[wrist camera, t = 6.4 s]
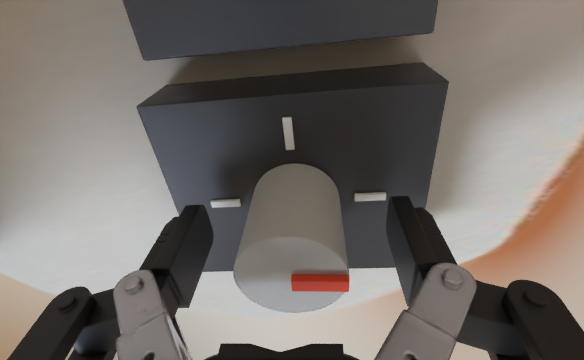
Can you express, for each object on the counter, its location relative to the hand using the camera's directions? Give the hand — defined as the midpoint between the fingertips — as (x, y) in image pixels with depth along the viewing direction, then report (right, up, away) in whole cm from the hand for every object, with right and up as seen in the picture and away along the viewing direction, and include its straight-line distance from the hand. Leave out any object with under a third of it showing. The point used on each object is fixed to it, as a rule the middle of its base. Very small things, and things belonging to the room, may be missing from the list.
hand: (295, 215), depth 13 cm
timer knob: (0, +1, +1) cm, 1 cm away
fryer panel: (0, +2, +3) cm, 4 cm away
